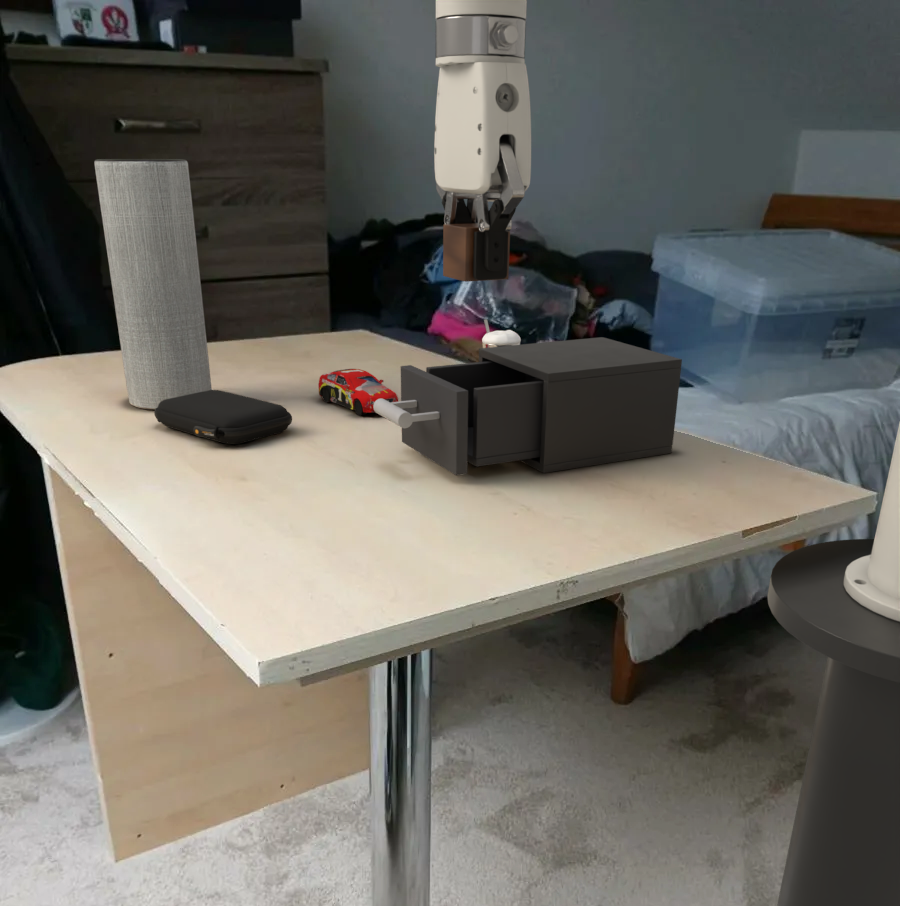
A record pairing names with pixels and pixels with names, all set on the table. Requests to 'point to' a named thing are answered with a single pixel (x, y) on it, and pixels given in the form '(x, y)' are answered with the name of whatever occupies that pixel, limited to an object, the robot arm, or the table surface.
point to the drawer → (468, 414)
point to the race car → (354, 390)
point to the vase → (154, 277)
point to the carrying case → (223, 416)
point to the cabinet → (597, 399)
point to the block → (461, 251)
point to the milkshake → (499, 338)
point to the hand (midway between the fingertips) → (475, 273)
